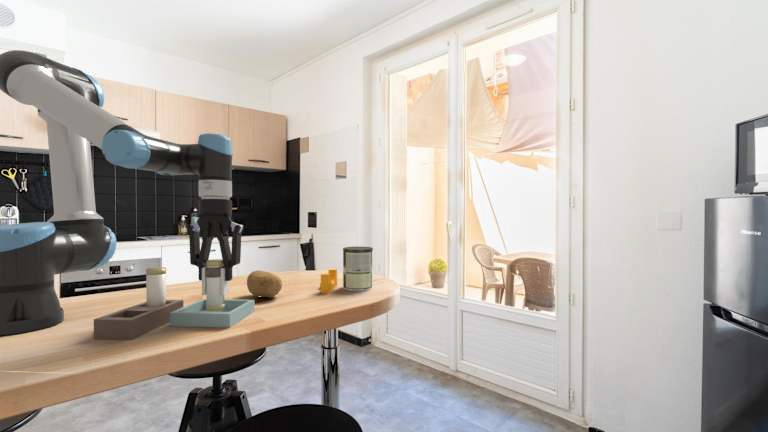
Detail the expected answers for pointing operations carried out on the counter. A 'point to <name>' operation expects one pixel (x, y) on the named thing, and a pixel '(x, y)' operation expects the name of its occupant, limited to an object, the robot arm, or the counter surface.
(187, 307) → the parts tray
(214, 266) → the fuse
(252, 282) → the potato
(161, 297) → the fuse
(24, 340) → the counter surface
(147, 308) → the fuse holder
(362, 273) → the coffee can
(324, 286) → the pipe clamp
